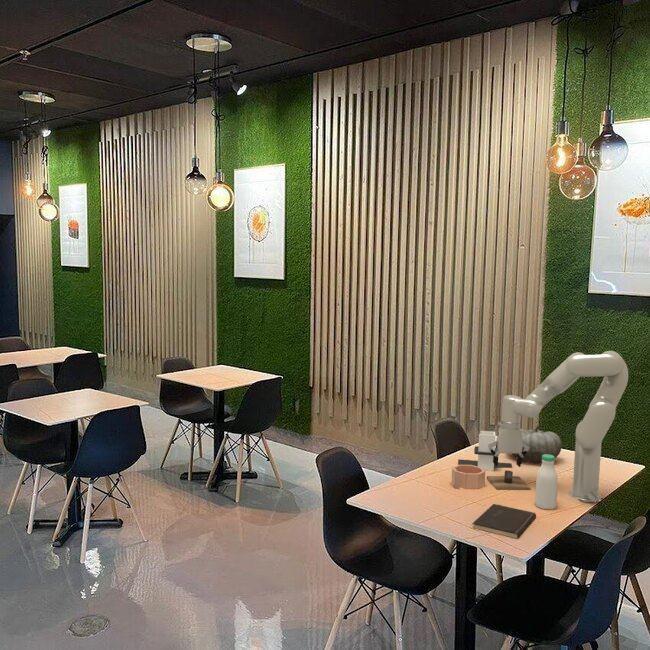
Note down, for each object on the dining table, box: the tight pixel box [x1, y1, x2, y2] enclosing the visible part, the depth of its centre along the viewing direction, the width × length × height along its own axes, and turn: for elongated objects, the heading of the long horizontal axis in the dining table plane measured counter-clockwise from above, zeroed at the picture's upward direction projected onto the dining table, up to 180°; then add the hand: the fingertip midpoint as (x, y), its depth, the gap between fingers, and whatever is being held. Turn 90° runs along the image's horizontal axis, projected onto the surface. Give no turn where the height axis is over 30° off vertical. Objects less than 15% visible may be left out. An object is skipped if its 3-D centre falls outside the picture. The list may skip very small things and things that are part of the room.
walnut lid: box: [486, 470, 532, 491], centre depth 273 cm, size 14×14×5 cm
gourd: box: [510, 425, 563, 464], centre depth 312 cm, size 25×25×17 cm
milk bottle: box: [534, 454, 559, 511], centre depth 250 cm, size 8×8×20 cm
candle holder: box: [457, 430, 513, 472], centre depth 295 cm, size 25×24×16 cm
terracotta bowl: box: [451, 464, 486, 490], centre depth 273 cm, size 13×13×7 cm
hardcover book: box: [472, 503, 537, 540], centre depth 234 cm, size 16×23×2 cm
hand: (507, 465), depth 273 cm, fingers open, 9 cm apart
